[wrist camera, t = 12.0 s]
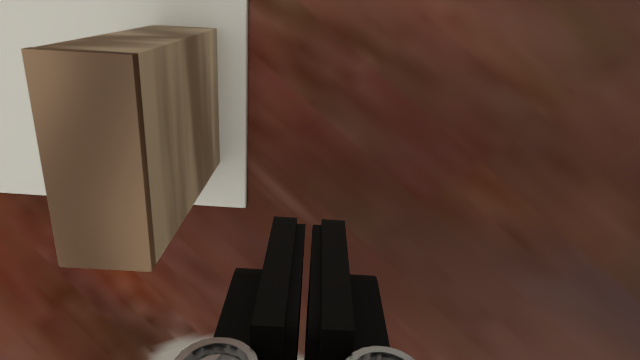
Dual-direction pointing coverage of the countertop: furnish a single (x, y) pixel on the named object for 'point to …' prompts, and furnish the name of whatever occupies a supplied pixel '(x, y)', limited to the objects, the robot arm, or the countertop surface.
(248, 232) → the countertop surface
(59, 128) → the slab
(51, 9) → the mat
